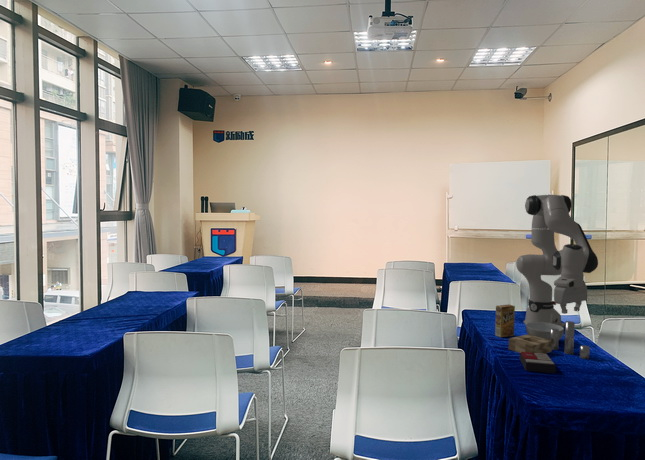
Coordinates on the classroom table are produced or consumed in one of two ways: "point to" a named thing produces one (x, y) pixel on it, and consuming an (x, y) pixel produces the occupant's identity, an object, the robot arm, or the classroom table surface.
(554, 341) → the medium pin
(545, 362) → the calculator
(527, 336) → the block
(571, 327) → the long pin
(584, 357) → the short pin
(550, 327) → the cereal bowl
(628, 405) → the classroom table surface
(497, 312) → the candy box
